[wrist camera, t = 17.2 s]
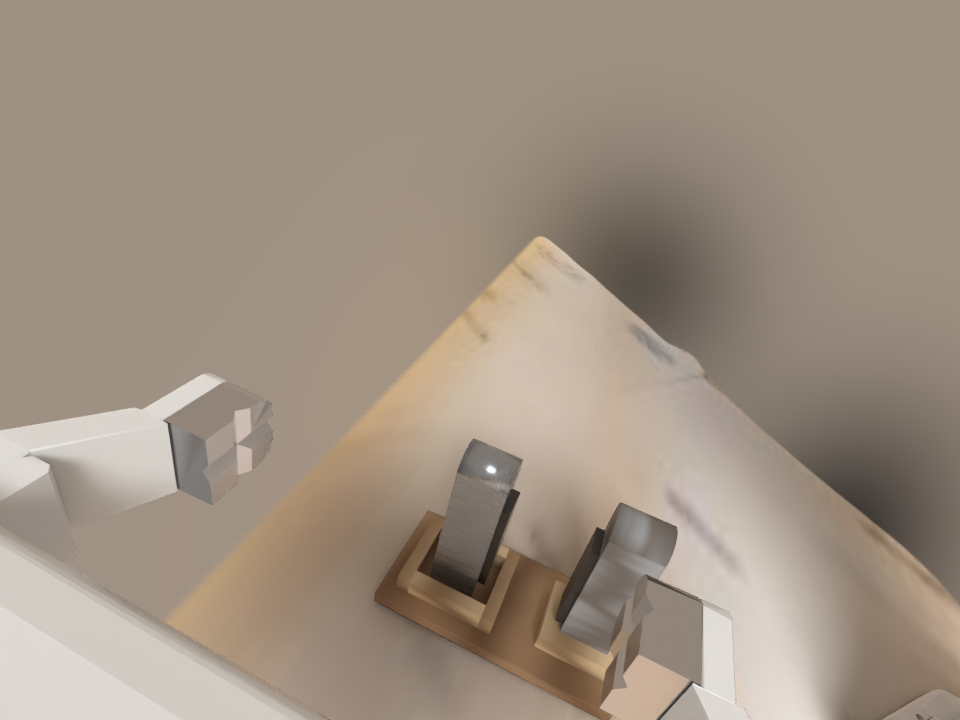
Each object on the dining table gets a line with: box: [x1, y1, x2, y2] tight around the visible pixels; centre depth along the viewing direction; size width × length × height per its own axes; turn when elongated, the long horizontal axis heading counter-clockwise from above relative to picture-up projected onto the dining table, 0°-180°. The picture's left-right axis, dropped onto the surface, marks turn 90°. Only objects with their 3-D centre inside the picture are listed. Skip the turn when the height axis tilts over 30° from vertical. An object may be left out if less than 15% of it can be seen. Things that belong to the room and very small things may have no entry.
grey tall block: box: [429, 439, 523, 598], centre depth 38 cm, size 4×3×14 cm
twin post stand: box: [374, 503, 677, 720], centre depth 38 cm, size 18×9×14 cm, turn 68°
